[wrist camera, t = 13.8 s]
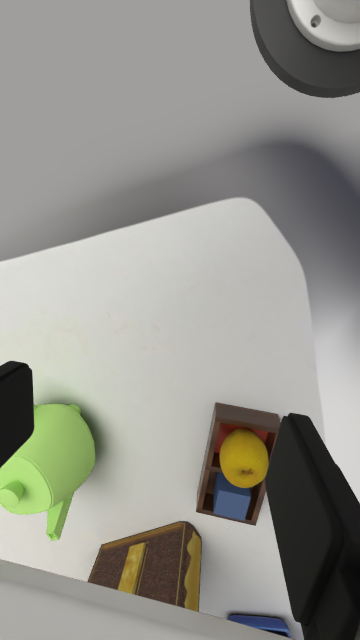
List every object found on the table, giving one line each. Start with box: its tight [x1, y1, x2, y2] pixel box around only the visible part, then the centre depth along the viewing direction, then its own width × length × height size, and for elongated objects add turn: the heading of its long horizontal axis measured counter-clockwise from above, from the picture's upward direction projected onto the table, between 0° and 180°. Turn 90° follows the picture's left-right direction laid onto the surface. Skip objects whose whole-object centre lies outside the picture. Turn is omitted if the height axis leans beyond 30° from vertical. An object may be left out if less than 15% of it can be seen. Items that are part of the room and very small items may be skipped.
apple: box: [220, 428, 269, 488], centre depth 34 cm, size 6×6×8 cm
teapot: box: [0, 404, 95, 541], centre depth 37 cm, size 20×13×13 cm
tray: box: [196, 403, 281, 526], centre depth 38 cm, size 17×9×3 cm, turn 172°
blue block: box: [214, 472, 251, 521], centre depth 39 cm, size 4×4×4 cm
